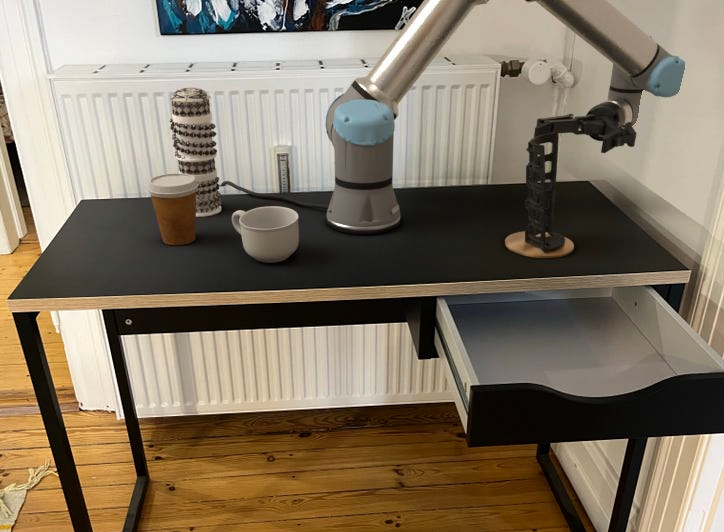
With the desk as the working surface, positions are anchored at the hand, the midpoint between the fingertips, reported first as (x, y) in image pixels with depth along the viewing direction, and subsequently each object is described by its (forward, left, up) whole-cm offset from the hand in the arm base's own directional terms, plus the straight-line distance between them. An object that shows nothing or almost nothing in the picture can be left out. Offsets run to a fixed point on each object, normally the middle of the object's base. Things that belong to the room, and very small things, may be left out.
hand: (569, 140), depth 146 cm
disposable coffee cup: (-58, -48, -18) cm, 78 cm away
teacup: (-39, -44, -18) cm, 62 cm away
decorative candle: (-67, -33, -18) cm, 77 cm away
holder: (+1, -10, -18) cm, 20 cm away
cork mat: (+1, -10, -18) cm, 21 cm away
